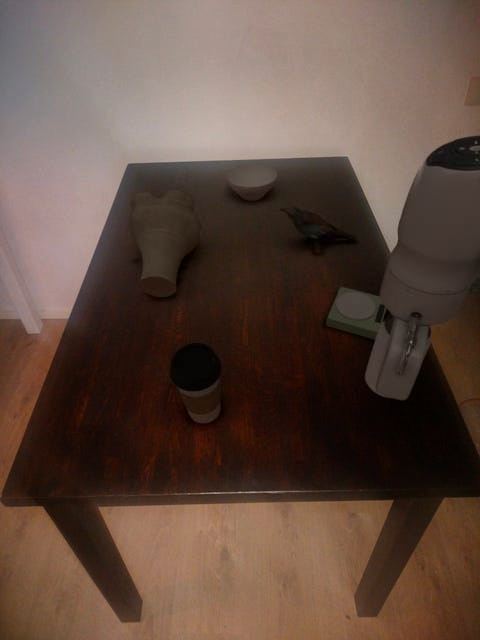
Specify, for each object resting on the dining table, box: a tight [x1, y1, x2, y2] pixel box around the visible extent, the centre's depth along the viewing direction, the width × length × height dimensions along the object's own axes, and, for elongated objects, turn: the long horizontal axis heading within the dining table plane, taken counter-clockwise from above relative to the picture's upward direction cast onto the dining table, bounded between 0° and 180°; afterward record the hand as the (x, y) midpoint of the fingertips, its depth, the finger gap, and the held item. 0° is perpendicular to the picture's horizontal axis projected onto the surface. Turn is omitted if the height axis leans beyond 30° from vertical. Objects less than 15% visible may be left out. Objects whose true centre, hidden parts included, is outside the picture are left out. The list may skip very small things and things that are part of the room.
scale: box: [325, 286, 387, 341], centre depth 84 cm, size 11×11×3 cm
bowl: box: [226, 162, 278, 202], centre depth 123 cm, size 16×16×7 cm
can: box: [364, 313, 432, 399], centre depth 53 cm, size 6×6×12 cm
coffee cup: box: [169, 342, 223, 424], centre depth 66 cm, size 8×8×15 cm
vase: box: [129, 189, 203, 298], centre depth 93 cm, size 22×22×28 cm
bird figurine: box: [279, 205, 358, 254], centre depth 101 cm, size 13×10×20 cm
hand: (393, 361), depth 54 cm, fingers closed on can, 6 cm apart
